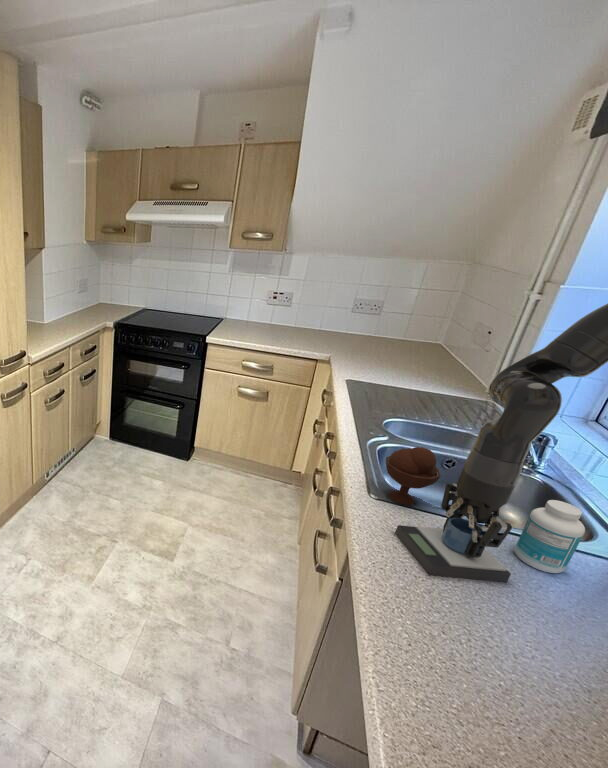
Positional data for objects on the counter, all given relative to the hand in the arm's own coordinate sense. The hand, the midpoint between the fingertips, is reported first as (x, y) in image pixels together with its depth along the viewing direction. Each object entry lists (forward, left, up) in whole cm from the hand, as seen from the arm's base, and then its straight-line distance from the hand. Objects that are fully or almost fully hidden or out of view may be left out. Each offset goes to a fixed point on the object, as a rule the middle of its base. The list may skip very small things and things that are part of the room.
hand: (459, 544), depth 84 cm
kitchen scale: (+1, 0, -3) cm, 4 cm away
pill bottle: (-17, -1, -4) cm, 17 cm away
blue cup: (0, 0, -1) cm, 1 cm away
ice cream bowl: (-1, -20, -3) cm, 20 cm away
